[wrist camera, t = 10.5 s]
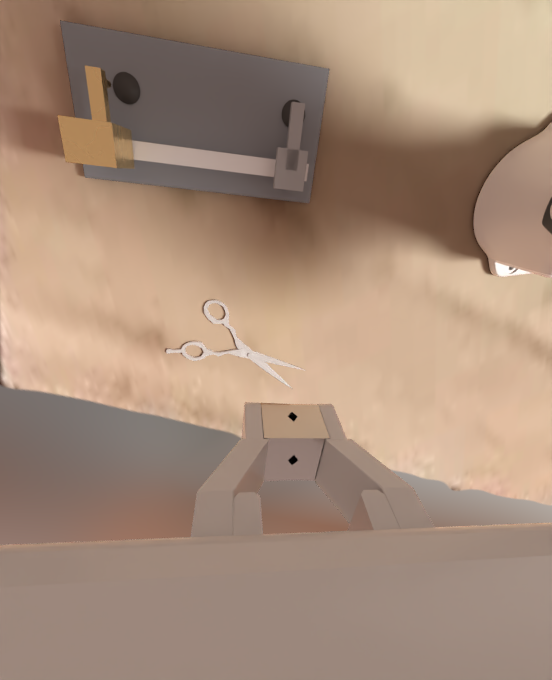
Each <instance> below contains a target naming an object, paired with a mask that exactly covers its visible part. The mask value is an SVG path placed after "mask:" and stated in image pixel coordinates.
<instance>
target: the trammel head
mask: <svg viewBox="0 0 552 680" xmlns="http://www.w3.org/2000/svg"><path fill="white" fill-rule="evenodd" d="M85 71H86V79H87V86H88V93H89V100H90V108H91V115H92V120H89V119H82V118H75V117H68V116H61V115H57V116H58V122H59V127H60V133H61V138H62V144H63V149H64V155H65V160H66V162H70V163H79V164H87V165H95V166H103V167H112V168H127V169H135V167H134V156H133V145H132V134H131V130H129V129H127V128H124V127H122V126H119V125H116V124H114V123H111V118H110V110H109V101H108V92H107V88H110V87H111V82H110V81H109V80H108V79H106V75H105V71H104V70H102V69H101V68H98V67H92V66H85Z"/></svg>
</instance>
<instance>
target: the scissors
mask: <svg viewBox="0 0 552 680" xmlns="http://www.w3.org/2000/svg"><path fill="white" fill-rule="evenodd" d="M212 303H218V304H219V305H221V306H223V307H224V310H225V313H226V315H225V317H224V318H223V319H216V318H214V317H213V316H211V315H210V314H209V312H208V310H207V308H208V306H209V305H210V304H212ZM204 313H205V315H206V316H207V318H208V319H209V320H210V321H211V322H212V323H217V324H224V326H226V327H227V328H229V329H230V331H231V333H232V335H233V337H234V339H235V343H236V346H237V348H238V349H232V350H226V351H220V352H219V351H212V350H210V349H207V348H206V347H205V346H204V344H203V343H202V342H200V341H190V342H187V343H185V344H184V345H183V347H182V348H181V349H168V348H167V350H166V353H182V355H183V356H185V357H186V358H187V359H190V360H193V361H197V360H201V359H203V358H205V357H206V356H208V355H212V354H214V355H217V356H221V355H223V354H228V353H229V354H232V355H236V356H239V357H244V358H249V359H250V360H252V361H253V362H254V363H256V364H257V365H258V366H260V367H261V368H262V369H264V370H265V371H266V372H268V373H269V374H271V375H272V376H274V377H275V378H277V379H278V380H279V381H281V382H282V383H284V384H285V385H287V386H289V385H288V384H287V383H286V382H285V381H284V380H283V379H282V378H281V377H280V376H279V375H278V374H277V373H276V372H275V371H274V370H273V369H272V368H271V367H270V366H269V365H268V364H267V363H265V362H268V363H273V364H277V365H282V366H287V367H291V368H296V369H301V368H299V367H296V366H294V365H291V364H288V363H286V362H283V361H281V360H278V359H275V358H273V357H270V356H267V355H264V354H261V353H258V352H255V351H252V350H251V349H250V348H249V347H248V346H247V345H245V344H244V343H243V342H242V341H241V340H240V339H239V338H238V337H237V336H236V331H235V329H234V328H233V327H231V326H230V325H229V312H228V309H227V307H226V306H225V304H224V303H222V302H221V301H219V300H209V301H207V302H206V303H205V306H204ZM189 345H196V346H199V347H200V348H202V350H203V354H202V355H201V356H198V357H193V356H190V355H189V354H187V353H186V351H185V348H186V347H187V346H189ZM301 370H304V369H301ZM289 387H290V386H289ZM290 388H291V387H290Z"/></svg>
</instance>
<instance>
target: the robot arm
mask: <svg viewBox="0 0 552 680" xmlns="http://www.w3.org/2000/svg"><path fill="white" fill-rule="evenodd" d="M473 223H474V232H475V236H476V239H477V242H478V243H479V245H480V247H481V248H482V249H483V251H484V252H485V253H486V255H487V256H488V260H489V267H490V271H491V273H492V274H493V275H496V276H500V277H504V276H513V275H521V274H530V273H534V274H537V275H541V276H544V277H549V278H552V122H551V123H550V124H549V125H548V126H547V127H546V128H545V129H544V130H543V131H542V132H541V133H539V134H538V135H536V136H534V137H532V138H530V139H529V140H527V141H525V142H523V143H521V144H520V145H518V146H517V147H515V148H514V149H513V150H512V151H510V152H509V153H508V154H507V155H506V156H505V157H504V158H503V159H502V160H501V161H500V162H499V163H498V164H497V165H496V167H495V168H494V169H493V171H492V172H491V173H490V175H489V176H488V178H487V180H486V181H485V183H484V185H483V187H482V189H481V191H480V194H479V196H478V199H477V202H476V206H475V211H474V222H473ZM509 266H510V267H509ZM278 480H315V482H316V483H317V485H318V486H319V487H320V488H321V490H322V491H323V492H324V493H325V495H326V496H327V497H328V498H329V499H330V501H331V502H332V503H333V504H334V505H335V507H336V508H337V509H338V510H339V511H340V513H341V514H342V515H343V516H344V518H345V519H346V520H347V521H348V523H349V524H350V525H349V528H348V530H347V531H336V532H313V533H312V532H310V533H286V534H263V528H262V514H261V500H260V496H259V495H258V494H257V493H258V492H259V490H260V488H261V486H262V484H263V481H278ZM0 680H552V523H532V524H508V525H482V526H457V527H434V525H433V523H432V521H431V520H430V518H429V516H428V514H427V512H426V511H425V509H424V507H423V505H422V503H421V501H420V499H419V498H418V496H417V494H416V492H415V490H414V488H413V487H411V486H410V485H409V484H407V483H406V482H405V481H404V480H402V479H401V478H400V477H399V476H397V475H396V474H395V473H393V472H392V471H391V470H390V469H388V468H387V467H386V466H385V465H383V464H382V463H381V462H380V461H378V460H377V459H376V458H374V457H373V456H372V455H371V454H369V453H368V452H367V451H366V450H364V449H363V448H362V447H360V446H359V445H358V444H357V443H355V442H354V441H353V440H352V439H347V438H346V436H345V433H344V431H343V428H342V426H341V423H340V421H339V418H338V416H337V414H336V411H335V409H334V406H333V405H332V404H317V405H316V404H277V403H247V402H245V405H244V417H243V429H242V439H240V441H239V442H238V443H237V444H236V446H235V447H234V448H233V449H232V450H231V452H230V453H229V454H228V455H227V456H226V458H225V459H224V460H223V461H222V462H221V464H220V465H219V466H218V467H217V469H216V470H215V471H214V472H213V473H212V475H211V476H210V477H209V478H208V480H207V481H206V482H205V483H204V484H203V485H202V487H201V488H200V489H199V490H198V492H197V497H196V504H195V510H194V518H193V525H192V532H191V537H186V538H161V539H136V540H114V541H113V540H112V541H87V542H62V543H39V544H38V543H37V544H13V545H0Z"/></svg>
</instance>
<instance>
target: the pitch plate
mask: <svg viewBox="0 0 552 680" xmlns="http://www.w3.org/2000/svg"><path fill="white" fill-rule="evenodd" d="M60 23H61V30H62V36H63V42H64V49H65V55H66V61H67V68H68V74H69V80H70V86H71V93H72V99H73V105H74V112H75V118H82V119H89V120H92V115H91V108H90V100H89V93H88V86H87V79H86V71H85V66H92V67H98V68H101V69H102V70H104V71H105V75H106V79H108V80H109V81H110V82H111V87H110V88H107V92H108V101H109V110H110V118H111V123H114V124H116V125H119V126H122V127H124V128H127V129H129V130H131V134H132V145H133V156H134V167H135V169H127V168H112V167H103V166H95V165H87V164H83V168H84V175H85V177H86V178H95V179H103V180H112V181H121V182H129V183H138V184H147V185H155V186H164V187H173V188H181V189H190V190H198V191H207V192H216V193H224V194H233V195H242V196H250V197H259V198H268V199H276V200H285V201H294V202H302V203H310V196H311V189H312V183H313V176H314V169H315V162H316V156H317V149H318V142H319V135H320V129H321V122H322V115H323V108H324V102H325V95H326V88H327V82H328V75H329V69H327V68H321V67H316V66H310V65H305V64H299V63H294V62H288V61H283V60H277V59H271V58H266V57H260V56H255V55H249V54H244V53H238V52H233V51H227V50H221V49H216V48H210V47H205V46H199V45H194V44H188V43H183V42H177V41H172V40H166V39H160V38H155V37H149V36H144V35H138V34H133V33H127V32H122V31H116V30H111V29H105V28H99V27H94V26H88V25H83V24H77V23H72V22H66V21H61V20H60Z"/></svg>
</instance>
